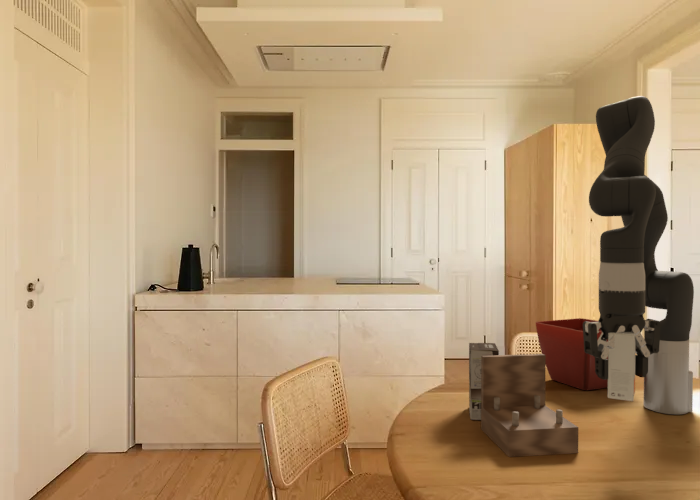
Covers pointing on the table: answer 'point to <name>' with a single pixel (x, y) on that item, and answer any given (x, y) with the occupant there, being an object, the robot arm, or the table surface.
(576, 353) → the plant pot
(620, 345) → the skincare box
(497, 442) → the peg shelf stand
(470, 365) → the coffee box
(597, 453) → the table surface
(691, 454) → the table surface
